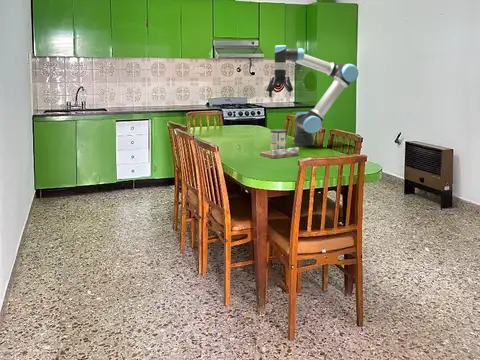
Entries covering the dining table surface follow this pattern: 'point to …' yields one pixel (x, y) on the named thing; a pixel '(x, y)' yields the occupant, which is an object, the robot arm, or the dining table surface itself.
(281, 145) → the coffee can
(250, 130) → the dining table surface
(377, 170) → the dining table surface
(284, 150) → the shelf board
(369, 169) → the dining table surface
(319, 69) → the robot arm
